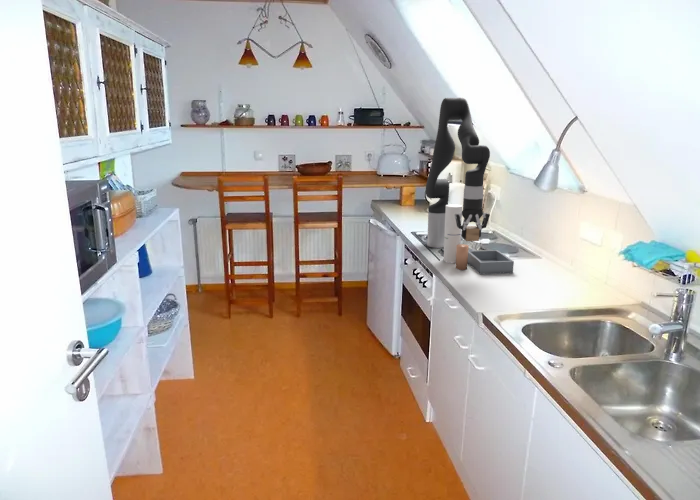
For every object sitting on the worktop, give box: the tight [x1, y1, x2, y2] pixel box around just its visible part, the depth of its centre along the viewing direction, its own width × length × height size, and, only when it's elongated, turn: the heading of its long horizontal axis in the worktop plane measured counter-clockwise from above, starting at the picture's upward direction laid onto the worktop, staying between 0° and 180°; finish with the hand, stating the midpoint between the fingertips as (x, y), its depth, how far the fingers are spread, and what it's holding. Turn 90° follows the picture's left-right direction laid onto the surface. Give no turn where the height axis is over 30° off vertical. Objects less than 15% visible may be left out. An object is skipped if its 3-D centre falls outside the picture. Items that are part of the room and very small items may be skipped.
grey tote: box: [468, 249, 515, 275], centre depth 212 cm, size 18×14×5 cm
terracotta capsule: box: [455, 243, 470, 271], centre depth 210 cm, size 5×5×10 cm
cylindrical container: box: [443, 203, 463, 264], centre depth 219 cm, size 7×7×25 cm
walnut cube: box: [464, 225, 480, 242], centre depth 199 cm, size 5×5×5 cm
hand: (470, 238), depth 200 cm, fingers closed on walnut cube, 5 cm apart
